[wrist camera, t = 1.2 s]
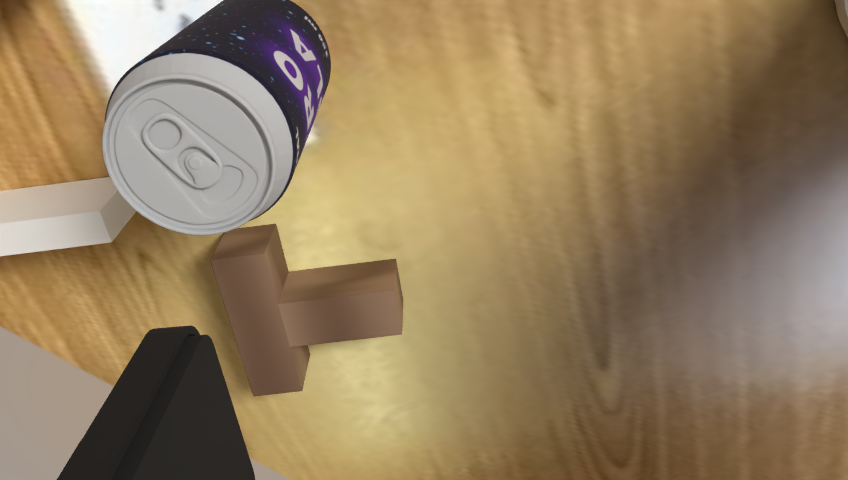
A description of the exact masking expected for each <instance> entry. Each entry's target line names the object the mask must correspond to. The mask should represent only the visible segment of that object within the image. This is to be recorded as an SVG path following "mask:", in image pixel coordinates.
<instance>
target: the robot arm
mask: <svg viewBox="0 0 848 480" xmlns="http://www.w3.org/2000/svg"><path fill="white" fill-rule="evenodd" d="M835 4H836V9H837V14H838V18H839V21H840V23H841V25H842V27H843V29H844V31H845V34H846V36H847V38H848V0H835ZM57 480H255V475H254V472H253V468H252V464H251V461H250V458H249V455H248V452H247V449H246V445H245V442H244V439H243V436H242V433H241V430H240V426H239V423H238V420H237V417H236V414H235V411H234V407H233V404H232V401H231V398H230V395H229V392H228V388H227V385H226V382H225V379H224V376H223V373H222V369H221V366H220V363H219V360H218V357H217V354H216V350H215V347H214V344H213V342H212V339H211V338H210V337H209V336H208V335H200V334H199V332H198V330H197V329H196V328H195V327H193V326H180V327H169V328H157V329H152V330H150V331H149V332H148V333H147V334H146V335H145V337H144V339H143V340H142V342H141V344H140V345H139V347H138V348H137V350H136V352H135V353H134V355H133V357H132V358H131V360H130V362H129V363H128V365H127V367H126V368H125V370H124V371H123V373H122V375H121V376H120V378H119V380H118V381H117V383H116V385H115V386H114V388H113V390H112V391H111V393H110V394H109V396H108V398H107V399H106V401H105V403H104V404H103V406H102V408H101V409H100V411H99V413H98V414H97V416H96V417H95V419H94V421H93V422H92V424H91V426H90V427H89V429H88V430H87V432H86V434H85V436H84V437H83V439H82V440H81V441H80V443H79V444H78V446H77V448H76V449H75V451H74V453H73V454H72V456H71V458H70V459H69V461H68V462H67V464H66V466H65V467H64V469H63V471H62V472H61V474H60V476H59V477H58V479H57Z"/></svg>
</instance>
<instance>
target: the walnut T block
mask: <svg viewBox="0 0 848 480" xmlns="http://www.w3.org/2000/svg"><path fill="white" fill-rule="evenodd" d="M210 261H211V264H212V267H213V270H214V273H215V277H216V280H217V283H218V286H219V289H220V292H221V295H222V299H223V302H224V305H225V308H226V311H227V314H228V318H229V321H230V324H231V327H232V330H233V333H234V336H235V340H236V343H237V346H238V349H239V352H240V355H241V358H242V362H243V365H244V368H245V371H246V374H247V377H248V381H249V384H250V387H251V390H252V393H253V396H261V395H270V394H279V393H288V392H297V391H302V389H303V384H304V380H305V375H306V370H307V366H308V361H309V357H310V353H309V349H308V345H313V344H321V343H330V342H339V341H348V340H356V339H365V338H374V337H383V336H391V335H400V334H402V323H403V296H402V291H401V285H400V279H399V273H398V268H397V262H396V259H390V260H382V261H373V262H365V263H357V264H349V265H340V266H332V267H324V268H315V269H307V270H299V271H290V272H288V268H287V264H286V260H285V257H284V253H283V249H282V245H281V241H280V237H279V233H278V230H277V226H276V224H270V225H262V226H254V227H246V228H238V229H233V230H230V231H227V232H225V233H224V235H223V237H222V239H221V240H220V242H219V244H218V246H217V248H216V250H215V252H214V254H213V256H212V258H211V260H210Z"/></svg>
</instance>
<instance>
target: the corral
mask: <svg viewBox="0 0 848 480" xmlns="http://www.w3.org/2000/svg"><path fill="white" fill-rule="evenodd" d="M135 212H136V210H135V209H133V208H132V207H131V206H130V205H129V204H128V203H127V202H126V200H125V199H124V198H123V197H122V196H121V194H120V193H119V192H118V190H117V189H116V188H115V186H114V184H113V182H112V180H111V178H110V177H105V178H97V179H89V180H82V181H74V182H66V183H59V184H51V185H43V186H35V187H28V188H20V189H12V190H5V191H0V256H6V255H14V254H22V253H30V252H38V251H46V250H54V249H63V248H71V247H79V246H87V245H95V244H103V243H111V242H112V241H113V240H114V239H115V238H116V236H117V235H118V234H119V233H120V231H121V230H122V229H123V227H124V226H125V225H126V224H127V222H128V221H129V220H130V219H131V217H132V216H133V215H134V214H135Z"/></svg>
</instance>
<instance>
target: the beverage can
mask: <svg viewBox="0 0 848 480" xmlns="http://www.w3.org/2000/svg"><path fill="white" fill-rule="evenodd" d="M330 71H331V61H330V54H329V49H328V46H327V43H326V40H325V38H324V35H323V33H322V31H321V30H320V28H319V27H318V25H317V24H316V22H315V21H314V20H313V19H312V17H311V16H310V15H309V14H308V13H307V12H306V11H304V10H303V9H302V8H301V7H299V6H298V5H297V4H295V3H293V2H292V1H290V0H224V1H222V2H220V3H219V4H218V5H216V6H215V7H214V8H212V9H211V10H209V11H208V12H207V13H205V14H204V15H203V16H201V17H200V18H198V19H197V20H196V21H194V22H193V23H192V24H190V25H189V26H188V27H186V28H185V29H183V30H182V31H181V32H179V33H178V34H177V35H175V36H174V37H172V38H171V39H170V40H168V41H167V42H166V43H164V44H163V45H162V46H160V47H159V48H157V49H156V50H155V51H153V52H152V53H151V54H149V55H148V56H147V57H145V58H144V59H142V60H141V61H140V62H138V63H137V64H136V65H134V66H133V67H132V68H131V69H129V70H128V71H127V72H126V73H125V74H124V75H123V77H122V78H121V79H120V80H119V82H118V83H117V85H116V86H115V88H114V90H113V92H112V94H111V96H110V99H109V102H108V105H107V109H106V115H105V124H104V129H103V135H102V152H103V157H104V163H105V166H106V169H107V171H108V174H109V176H110V178H111V180H112V182H113V184H114V186H115V188H116V189H117V190H118V192H119V193H120V194H121V196H122V197H123V198H124V199H125V200H126V202H127V203H128V204H129V205H130V206H131V207H132V208H133V209H135V210H136V211H137V212H138V213H140V214H141V215H142V216H143V217H145V218H147V219H148V220H150V221H152V222H153V223H155V224H157V225H159V226H162V227H164V228H166V229H169V230H172V231H175V232H179V233H184V234H190V235H213V234H220V233H224V232H227V231H230V230H233V229H235V228H237V227H240V226H242V225H243V224H245V223H246V222H248V221H251V220H253V219H255V218H257V217H259V216H260V215H262V214H264V213H265V212H266V211H268V210H269V209H270V208H271V207H272V206H274V205H275V204H276V203H277V201H278V200H279V199H280V198H281V197H282V195H283V194H284V192H285V191H286V189H287V187H288V185H289V184H290V181H291V179H292V176H293V174H294V171H295V169H296V166H297V163H298V161H299V158H300V156H301V153H302V151H303V148H304V145H305V143H306V140H307V138H308V135H309V133H310V130H311V127H312V125H313V122H314V120H315V117H316V115H317V112H318V109H319V107H320V104H321V102H322V99H323V97H324V94H325V91H326V89H327V86H328V83H329V79H330Z"/></svg>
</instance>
